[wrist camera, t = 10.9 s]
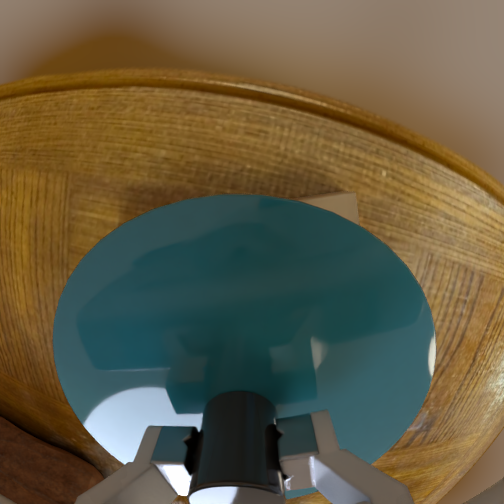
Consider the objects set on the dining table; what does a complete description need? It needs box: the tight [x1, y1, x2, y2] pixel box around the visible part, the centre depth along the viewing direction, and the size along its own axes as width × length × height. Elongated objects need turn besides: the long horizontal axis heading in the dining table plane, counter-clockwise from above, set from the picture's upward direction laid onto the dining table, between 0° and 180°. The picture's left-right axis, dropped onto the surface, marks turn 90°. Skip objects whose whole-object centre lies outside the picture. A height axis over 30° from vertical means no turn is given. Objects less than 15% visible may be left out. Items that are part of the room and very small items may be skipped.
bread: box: [0, 416, 104, 504], centre depth 14 cm, size 14×28×12 cm, turn 84°
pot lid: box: [53, 193, 436, 504], centre depth 7 cm, size 14×14×5 cm
